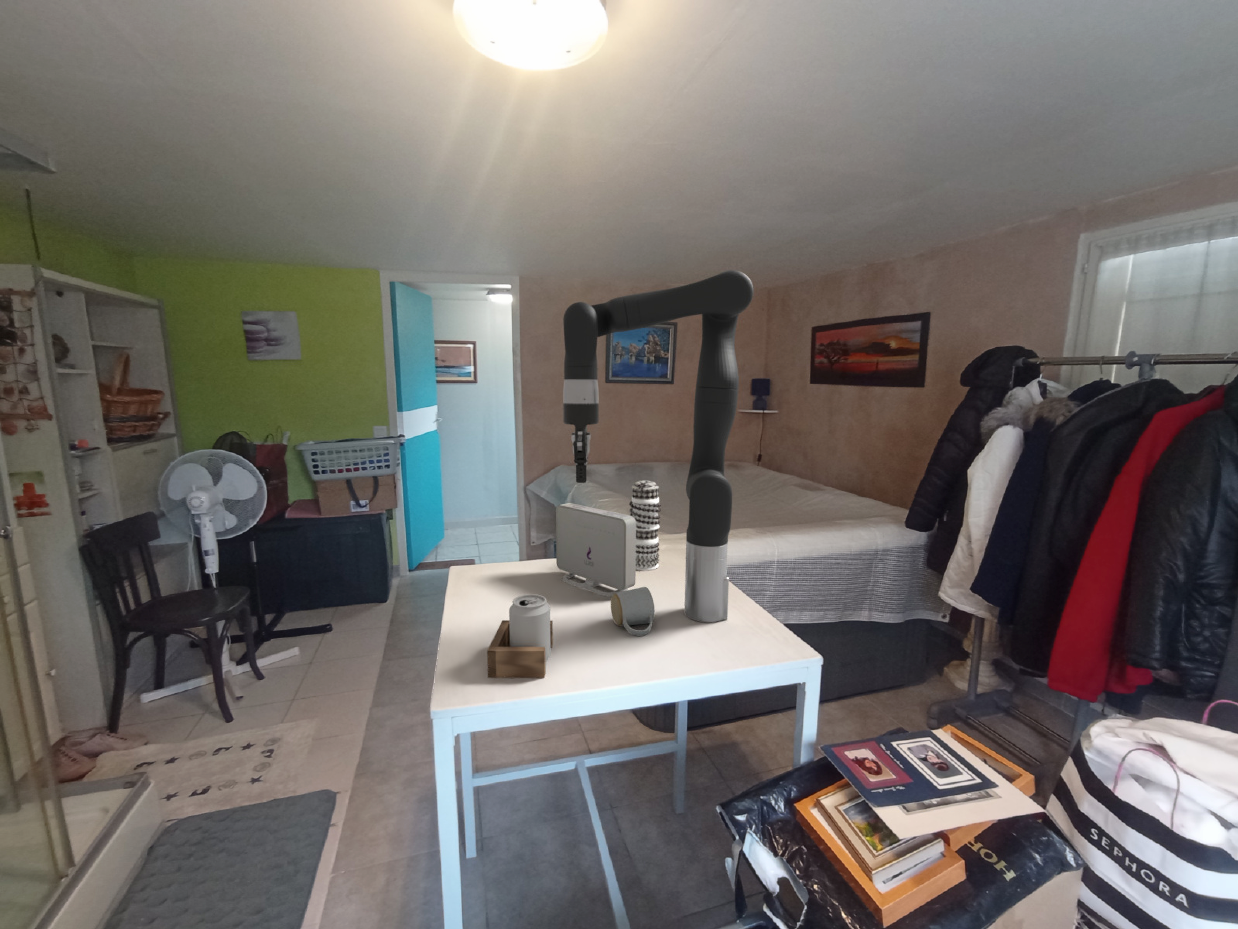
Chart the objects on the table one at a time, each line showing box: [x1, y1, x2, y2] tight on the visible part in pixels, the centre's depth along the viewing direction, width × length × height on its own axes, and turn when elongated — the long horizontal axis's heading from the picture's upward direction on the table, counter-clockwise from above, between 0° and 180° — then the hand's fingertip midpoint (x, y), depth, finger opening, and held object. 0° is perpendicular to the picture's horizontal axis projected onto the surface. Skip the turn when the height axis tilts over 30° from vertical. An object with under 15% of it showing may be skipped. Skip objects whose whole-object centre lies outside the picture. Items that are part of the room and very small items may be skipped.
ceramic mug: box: [610, 586, 656, 637], centre depth 113 cm, size 11×8×8 cm
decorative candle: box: [629, 479, 662, 572], centre depth 152 cm, size 9×9×25 cm
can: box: [508, 593, 551, 663], centre depth 98 cm, size 8×8×12 cm
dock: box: [486, 619, 554, 679], centre depth 98 cm, size 10×12×5 cm
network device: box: [555, 502, 637, 597], centre depth 137 cm, size 26×9×20 cm, turn 48°
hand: (581, 482), depth 113 cm, fingers closed
